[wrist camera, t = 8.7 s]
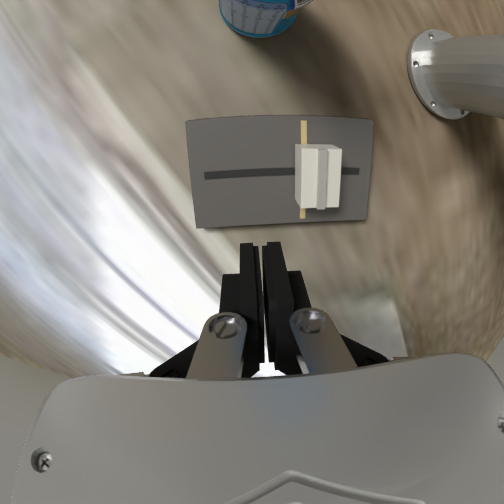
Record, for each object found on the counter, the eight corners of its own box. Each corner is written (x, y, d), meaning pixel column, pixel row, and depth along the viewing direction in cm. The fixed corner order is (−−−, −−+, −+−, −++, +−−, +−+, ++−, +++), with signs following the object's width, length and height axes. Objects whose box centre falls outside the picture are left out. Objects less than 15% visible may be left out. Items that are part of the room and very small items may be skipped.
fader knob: (332, 144, 28) (343, 150, 25) (329, 197, 31) (340, 208, 28) (295, 144, 28) (302, 149, 25) (294, 198, 31) (301, 210, 28)
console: (365, 118, 29) (373, 120, 27) (359, 213, 35) (366, 220, 33) (188, 120, 28) (185, 121, 27) (198, 221, 34) (196, 228, 32)
